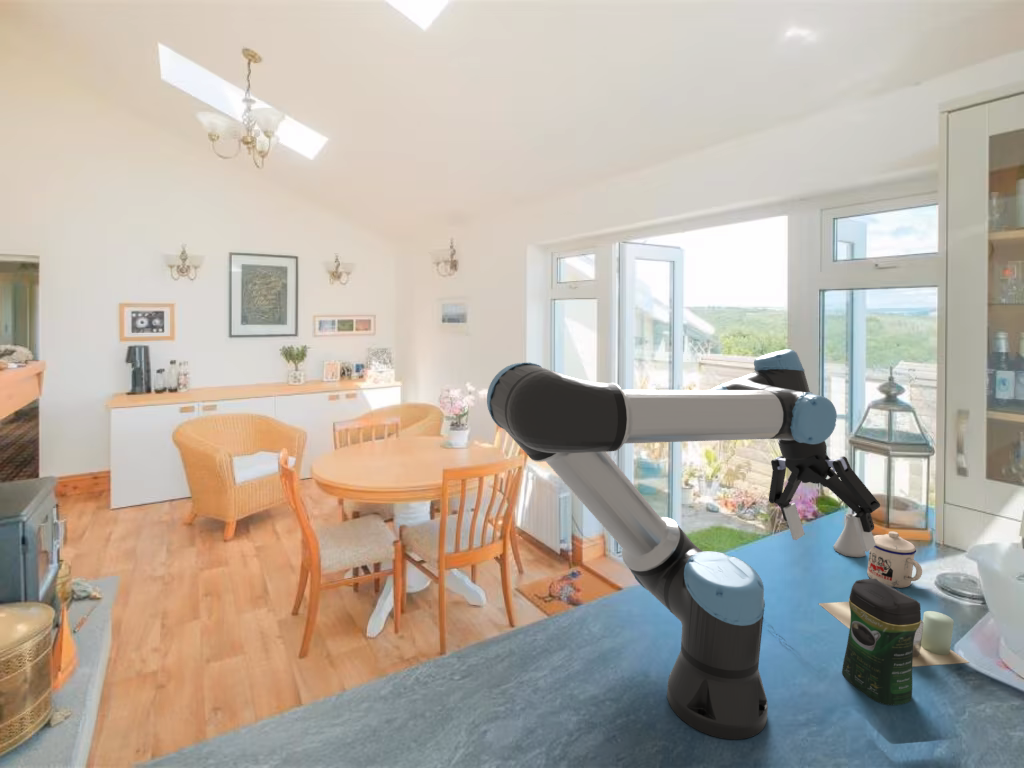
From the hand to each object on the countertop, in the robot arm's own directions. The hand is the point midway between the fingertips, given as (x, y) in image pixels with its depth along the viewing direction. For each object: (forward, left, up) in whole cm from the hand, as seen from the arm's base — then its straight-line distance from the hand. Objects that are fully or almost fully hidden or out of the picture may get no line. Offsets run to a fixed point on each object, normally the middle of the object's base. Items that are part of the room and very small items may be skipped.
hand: (832, 542), depth 102 cm
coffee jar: (0, -13, -21) cm, 25 cm away
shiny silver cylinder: (+13, -5, -19) cm, 24 cm away
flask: (+34, +37, -21) cm, 55 cm away
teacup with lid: (+33, +21, -21) cm, 45 cm away
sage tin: (+19, -5, -19) cm, 27 cm away
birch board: (+14, +1, -21) cm, 25 cm away
